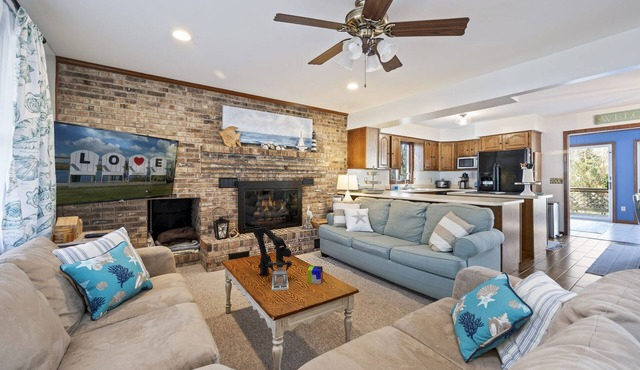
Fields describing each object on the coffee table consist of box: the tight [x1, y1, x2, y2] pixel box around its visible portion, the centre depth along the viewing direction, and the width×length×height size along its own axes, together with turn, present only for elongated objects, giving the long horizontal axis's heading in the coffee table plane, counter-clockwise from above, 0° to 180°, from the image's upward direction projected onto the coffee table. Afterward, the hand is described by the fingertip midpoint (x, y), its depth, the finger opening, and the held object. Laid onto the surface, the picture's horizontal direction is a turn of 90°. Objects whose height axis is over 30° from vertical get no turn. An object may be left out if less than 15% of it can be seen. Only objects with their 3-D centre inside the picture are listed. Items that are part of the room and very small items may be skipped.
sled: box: [276, 267, 284, 285], centre depth 207 cm, size 16×6×8 cm, turn 9°
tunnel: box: [272, 269, 288, 286], centre depth 202 cm, size 7×10×8 cm
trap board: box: [271, 275, 289, 292], centre depth 206 cm, size 24×12×2 cm, turn 9°
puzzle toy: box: [307, 265, 324, 285], centre depth 210 cm, size 10×10×10 cm
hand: (279, 274), depth 213 cm, fingers open, 9 cm apart
